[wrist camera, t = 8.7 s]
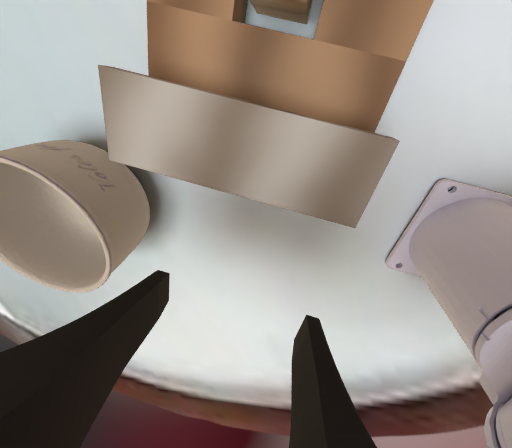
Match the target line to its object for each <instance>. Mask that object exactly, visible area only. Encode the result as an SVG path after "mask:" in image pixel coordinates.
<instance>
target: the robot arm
mask: <svg viewBox="0 0 512 448" xmlns="http://www.w3.org/2000/svg"><path fill="white" fill-rule="evenodd" d="M451 186H454V188H453V189H452V190H451V191H448V188H449V187H451ZM385 262H386V265H387V266H388V267H389V268H391V269H395V270H398V271H402V272H406V273H409V274H413V275H416V276H420V277H423V279H424V280H425V282H426V283H427V285H428V287H429V288H430V290H431V291H432V293H433V294H434V296H435V297H436V299H437V301H438V302H439V304H440V305H441V307H442V308H443V310H444V311H445V313H446V314H447V316H448V318H449V319H450V321H451V322H452V324H453V325H454V327H455V328H456V330H457V332H458V333H459V335H460V336H461V338H462V339H463V341H464V342H465V344H466V346H467V347H468V349H469V350H470V352H471V353H472V355H473V356H474V358H475V360H476V361H477V363H478V364H479V366H480V368H481V370H482V376H481V378H480V379H479V382H480V384H481V385H482V387H483V389H484V390H485V392H486V394H487V395H488V397H489V399H490V400H491V402H492V403H493V405H494V406H493V407H492V408H491V409H490V411H489V413H488V414H487V416H486V421H485V438H486V442H487V446H488V448H512V196H509V195H506V194H502V193H498V192H494V191H490V190H486V189H482V188H479V187H475V186H471V185H467V184H463V183H459V182H455V181H452V180H448V179H442V180H439V181H438V182H437V183H436V184H435V185H434V187H433V188H432V190H431V191H430V193H429V194H428V196H427V198H426V199H425V201H424V202H423V204H422V205H421V207H420V208H419V210H418V211H417V213H416V214H415V216H414V218H413V219H412V221H411V222H410V224H409V225H408V227H407V228H406V230H405V231H404V233H403V235H402V236H401V238H400V239H399V241H398V242H397V244H396V245H395V247H394V248H393V250H392V252H391V253H390V255H389V256H388V258H387V259H386V261H385ZM398 263H401V264H400V265H396V264H398ZM168 301H169V273H166V272H163V271H160V270H157V271H156V272H154V273H153V274H151V275H150V276H148V277H147V278H145V279H144V280H142V281H141V282H139V283H138V284H136V285H135V286H133V287H132V288H130V289H129V290H127V291H126V292H124V293H122V294H121V295H119V296H118V297H116V298H114V299H113V300H111V301H109V302H108V303H106V304H104V305H102V306H101V307H99V308H97V309H96V310H94V311H92V312H90V313H88V314H86V315H84V316H83V317H81V318H79V319H77V320H75V321H73V322H71V323H69V324H67V325H64V326H62V327H60V328H58V329H56V330H54V331H52V332H49V333H47V334H45V335H43V336H40V337H38V338H36V339H33V340H31V341H28V342H26V343H23V344H21V345H18V346H16V347H13V348H11V349H8V350H5V351H3V352H0V448H80V447H81V445H82V443H83V441H84V439H85V437H86V435H87V433H88V432H89V430H90V428H91V426H92V424H93V422H94V421H95V419H96V417H97V415H98V413H99V411H100V410H101V408H102V406H103V404H104V403H105V401H106V399H107V397H108V395H109V394H110V392H111V390H112V388H113V387H114V385H115V383H116V382H117V380H118V378H119V377H120V375H121V373H122V371H123V370H124V368H125V367H126V365H127V364H128V362H129V361H130V359H131V358H132V356H133V355H134V353H135V352H136V351H137V349H138V348H139V346H140V345H141V343H142V342H143V341H144V339H145V338H146V336H147V335H148V334H149V332H150V331H151V329H152V328H153V326H154V325H155V323H156V322H157V321H158V319H159V317H160V316H161V314H162V312H163V310H164V308H165V306H166V305H167V303H168ZM289 448H377V447H376V445H375V444H374V442H373V440H372V438H371V437H370V435H369V433H368V431H367V429H366V428H365V426H364V424H363V422H362V420H361V418H360V416H359V414H358V412H357V411H356V409H355V407H354V405H353V403H352V401H351V399H350V396H349V394H348V392H347V390H346V388H345V386H344V383H343V381H342V379H341V377H340V374H339V372H338V370H337V367H336V365H335V362H334V359H333V357H332V354H331V352H330V349H329V346H328V344H327V341H326V338H325V335H324V332H323V329H322V326H321V323H320V320H319V318H315V317H312V316H309V315H306V317H305V319H304V321H303V323H302V325H301V327H300V329H299V331H298V333H297V335H296V337H295V339H294V346H293V355H292V408H291V431H290V442H289Z"/></svg>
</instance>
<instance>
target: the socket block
mask: <svg viewBox="0 0 512 448" xmlns="http://www.w3.org/2000/svg"><path fill="white" fill-rule="evenodd" d="M247 1H248V0H147V28H148V70H149V76H147V75H143V74H139V73H135V72H131V71H127V70H123V69H119V68H115V67H109V66H102V65H98V69H99V77H100V86H101V94H102V103H103V111H104V120H105V129H106V137H107V146H108V154H109V160H111V161H115V162H118V163H122V164H125V165H129V166H133V167H136V168H140V169H144V170H147V171H151V172H154V173H158V174H162V175H165V176H169V177H172V178H176V179H180V180H183V181H187V182H190V183H194V184H198V185H201V186H205V187H209V188H212V189H216V190H219V191H223V192H227V193H230V194H234V195H237V196H241V197H245V198H248V199H252V200H255V201H259V202H263V203H266V204H270V205H273V206H277V207H281V208H284V209H288V210H292V211H295V212H299V213H302V214H306V215H310V216H313V217H317V218H320V219H324V220H328V221H331V222H335V223H338V224H342V225H346V226H349V227H353V228H355V227H356V225H357V223H358V222H359V220H360V218H361V216H362V214H363V212H364V210H365V208H366V206H367V204H368V202H369V200H370V198H371V196H372V194H373V192H374V190H375V188H376V186H377V184H378V182H379V181H380V179H381V177H382V175H383V173H384V171H385V169H386V167H387V165H388V163H389V161H390V159H391V157H392V155H393V153H394V151H395V149H396V147H397V145H398V143H399V141H398V140H396V139H394V138H392V137H388V136H384V135H380V134H376V133H374V132H375V129H376V127H377V125H378V123H379V121H380V118H381V116H382V114H383V112H384V109H385V107H386V105H387V103H388V101H389V98H390V96H391V94H392V92H393V89H394V87H395V85H396V83H397V81H398V78H399V76H400V74H401V72H402V69H403V67H404V65H405V63H406V60H407V58H408V56H409V54H410V52H411V49H412V47H413V45H414V43H415V40H416V38H417V36H418V34H419V32H420V29H421V27H422V25H423V23H424V20H425V18H426V16H427V14H428V11H429V9H430V7H431V5H432V3H433V0H324V2H323V6H322V10H321V13H320V17H319V21H318V24H317V28H316V32H315V36H314V39H309V38H304V37H300V36H296V35H291V34H287V33H283V32H279V31H274V30H270V29H266V28H261V27H257V26H253V25H249V24H244V22H245V15H246V8H247Z"/></svg>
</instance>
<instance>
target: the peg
mask: <svg viewBox="0 0 512 448" xmlns="http://www.w3.org/2000/svg"><path fill="white" fill-rule="evenodd" d="M250 1H251V3H252V5H253V7H254V8H255V10H256V12H257V13H259V14H263V15H267V16H272V17H276V18H281V19H285V20H290V21H294V22H299V23H303V24H307V20H308V16H309V12H310V8H311V4H312V0H250Z"/></svg>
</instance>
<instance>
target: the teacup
mask: <svg viewBox="0 0 512 448" xmlns="http://www.w3.org/2000/svg"><path fill="white" fill-rule="evenodd" d="M149 220H150V208H149V203H148V199H147V196H146V194H145V191H144V189H143V187H142V186H141V184H140V182H139V181H138V179H137V178H136V177H135V175H134V174H133V173H132V172H131V171H130V170H129V169H128V167H127V166H125V165H124V164H122V163H118V162H115V161H111V160H109V154H108V152H106V151H105V150H103V149H100V148H98V147H96V146H93V145H90V144H87V143H83V142H78V141H70V140H58V141H48V142H41V143H35V144H30V145H25V146H21V147H16V148H11V149H7V150H3V151H0V259H1V260H2V261H3V262H4V263H6V264H7V265H8V266H10V267H11V268H13V269H15V270H16V271H17V272H19V273H21V274H23V275H25V276H27V277H28V278H30V279H32V280H34V281H36V282H39V283H41V284H43V285H46V286H49V287H52V288H55V289H58V290H63V291H68V292H88V291H92V290H94V289H97V288H99V287H100V286H102V285H103V284H104V283H105V282H106V281H107V279H108V278H109V276H110V274H111V273H112V272H113V271H114V270H115V269H116V268H117V267H118V266H119V265H120V264H121V263H122V262H123V261H124V260H125V259H126V257H127V256H128V255H129V254H130V253H131V252H132V251H133V250H134V249H135V248H136V246H137V245H138V244H139V243H140V241H141V240H142V238H143V237H144V235H145V233H146V231H147V228H148V225H149Z"/></svg>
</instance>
